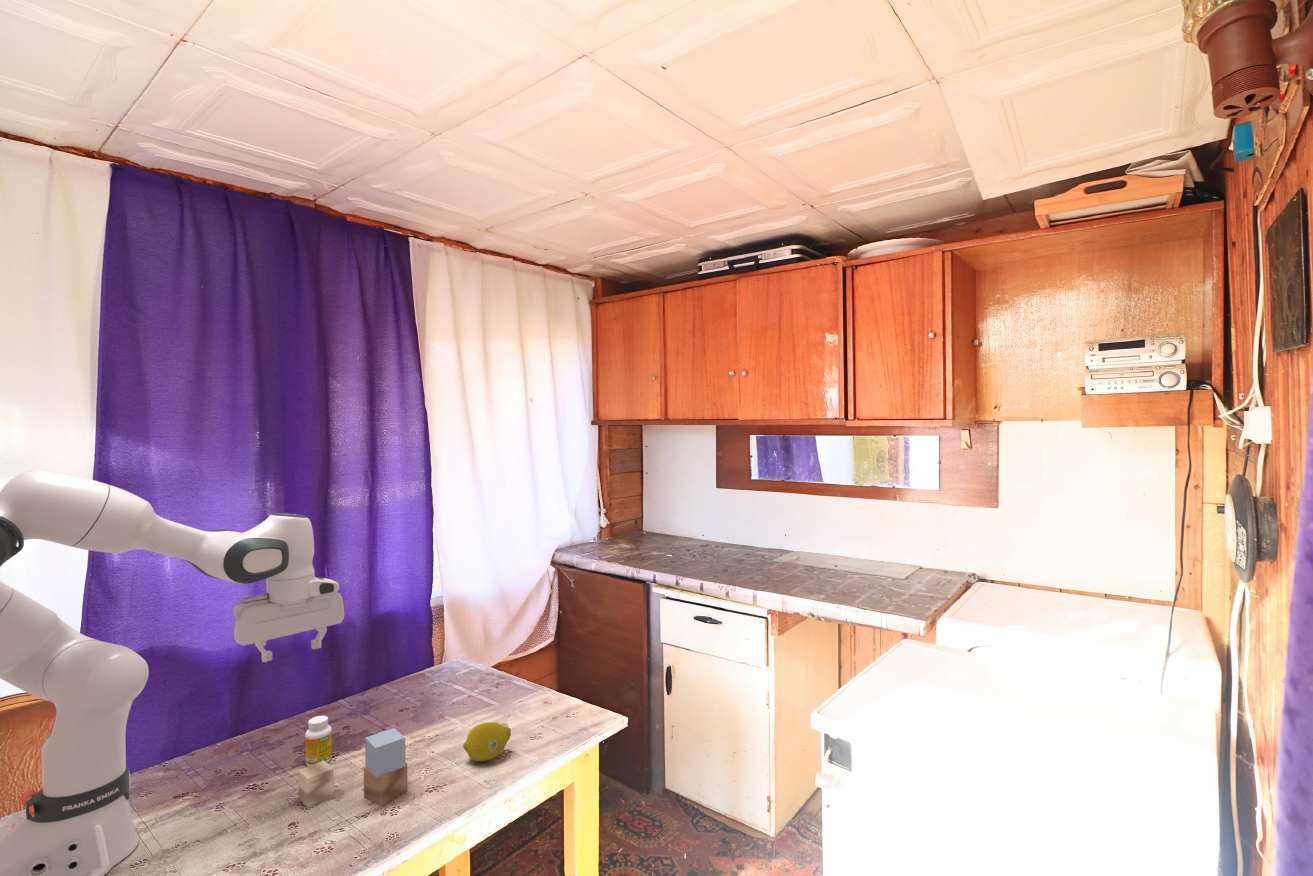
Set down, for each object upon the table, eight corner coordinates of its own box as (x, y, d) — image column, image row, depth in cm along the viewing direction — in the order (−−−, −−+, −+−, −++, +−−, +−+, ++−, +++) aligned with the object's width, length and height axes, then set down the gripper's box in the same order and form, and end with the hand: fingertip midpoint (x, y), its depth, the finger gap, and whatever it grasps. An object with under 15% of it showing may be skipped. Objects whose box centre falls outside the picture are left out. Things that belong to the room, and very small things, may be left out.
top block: (375, 777, 125) (375, 748, 125) (365, 766, 130) (365, 737, 130) (405, 766, 129) (405, 737, 129) (394, 755, 134) (394, 728, 134)
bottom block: (382, 806, 126) (381, 777, 125) (364, 797, 129) (363, 769, 129) (407, 791, 131) (407, 763, 131) (389, 783, 134) (389, 755, 134)
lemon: (464, 771, 138) (463, 736, 138) (462, 754, 145) (461, 721, 145) (513, 761, 142) (513, 727, 142) (509, 745, 149) (508, 712, 149)
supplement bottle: (320, 768, 140) (319, 726, 140) (300, 766, 141) (299, 724, 141) (337, 756, 145) (336, 715, 145) (317, 754, 146) (316, 713, 146)
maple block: (307, 808, 125) (307, 779, 125) (298, 799, 129) (298, 770, 128) (333, 797, 129) (333, 768, 129) (324, 788, 132) (323, 760, 132)
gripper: (238, 602, 121) (239, 673, 121) (346, 582, 136) (347, 645, 136) (228, 597, 125) (230, 665, 125) (335, 578, 140) (336, 638, 140)
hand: (292, 654), depth 131 cm, fingers open, 8 cm apart
